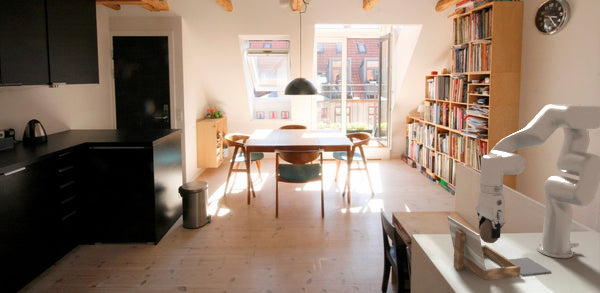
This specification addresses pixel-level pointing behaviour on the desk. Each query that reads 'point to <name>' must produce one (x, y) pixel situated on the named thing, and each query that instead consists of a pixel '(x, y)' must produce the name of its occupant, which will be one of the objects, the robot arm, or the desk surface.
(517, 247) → the desk surface
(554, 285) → the desk surface
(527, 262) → the mat
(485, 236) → the vase
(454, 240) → the frame
